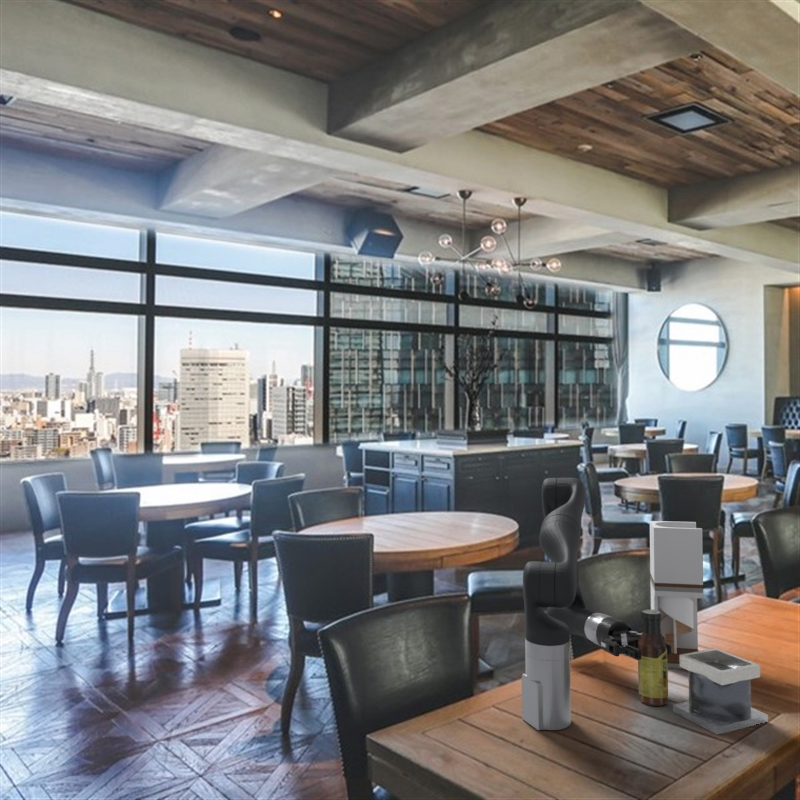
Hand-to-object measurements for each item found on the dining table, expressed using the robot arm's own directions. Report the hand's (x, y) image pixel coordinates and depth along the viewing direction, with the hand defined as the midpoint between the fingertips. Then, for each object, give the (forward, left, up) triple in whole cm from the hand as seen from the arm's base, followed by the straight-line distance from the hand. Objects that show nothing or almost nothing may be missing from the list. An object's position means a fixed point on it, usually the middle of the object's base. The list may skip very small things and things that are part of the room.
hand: (655, 652), depth 161 cm
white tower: (+23, +18, -11) cm, 31 cm away
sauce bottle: (0, +1, -11) cm, 11 cm away
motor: (+7, -11, -11) cm, 17 cm away
